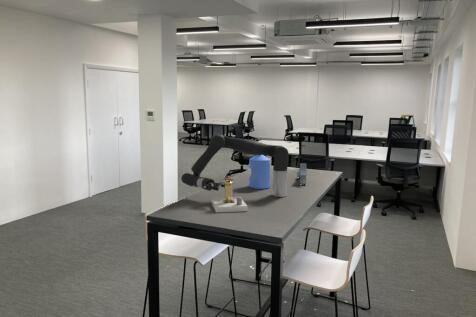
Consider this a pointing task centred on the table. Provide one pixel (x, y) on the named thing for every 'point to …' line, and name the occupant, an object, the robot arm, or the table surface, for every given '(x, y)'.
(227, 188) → the valve
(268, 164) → the water jug
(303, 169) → the faucet
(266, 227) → the table surface
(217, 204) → the plate
